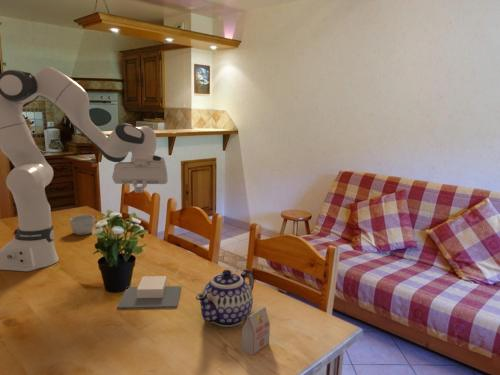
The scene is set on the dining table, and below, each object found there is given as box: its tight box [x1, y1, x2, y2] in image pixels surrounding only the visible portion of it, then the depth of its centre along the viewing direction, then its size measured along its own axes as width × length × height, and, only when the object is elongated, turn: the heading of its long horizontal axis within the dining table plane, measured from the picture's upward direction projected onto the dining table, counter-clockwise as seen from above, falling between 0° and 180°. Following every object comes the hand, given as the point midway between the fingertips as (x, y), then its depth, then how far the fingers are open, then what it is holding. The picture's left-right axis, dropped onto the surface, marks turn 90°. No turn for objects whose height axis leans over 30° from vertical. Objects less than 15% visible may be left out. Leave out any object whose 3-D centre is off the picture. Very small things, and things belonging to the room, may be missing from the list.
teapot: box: [195, 268, 255, 328], centre depth 114 cm, size 25×15×15 cm, turn 141°
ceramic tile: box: [137, 275, 168, 298], centre depth 129 cm, size 8×3×10 cm
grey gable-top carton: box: [241, 306, 271, 357], centre depth 101 cm, size 4×7×10 cm, turn 140°
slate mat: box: [116, 285, 182, 310], centre depth 127 cm, size 18×14×1 cm
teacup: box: [69, 213, 96, 236], centre depth 191 cm, size 14×11×8 cm
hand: (138, 192), depth 146 cm, fingers closed
